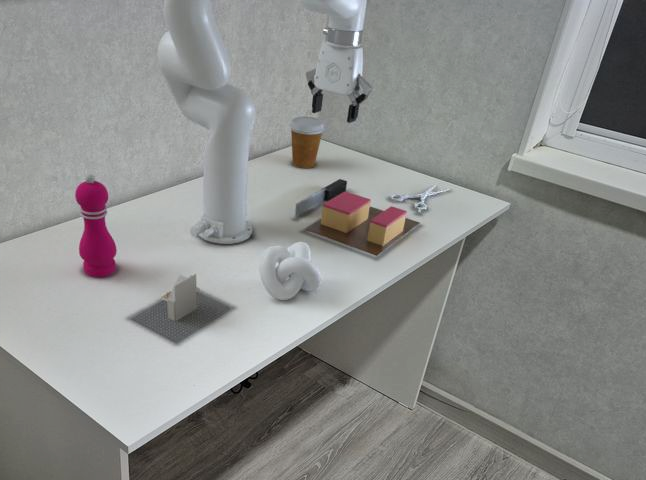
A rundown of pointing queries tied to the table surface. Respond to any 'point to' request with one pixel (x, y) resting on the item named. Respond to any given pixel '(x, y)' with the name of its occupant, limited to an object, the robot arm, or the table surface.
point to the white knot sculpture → (288, 271)
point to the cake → (345, 211)
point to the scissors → (421, 196)
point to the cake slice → (386, 225)
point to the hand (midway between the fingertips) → (333, 116)
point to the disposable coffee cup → (305, 140)
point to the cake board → (360, 233)
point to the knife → (321, 196)
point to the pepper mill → (95, 229)
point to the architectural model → (181, 311)
